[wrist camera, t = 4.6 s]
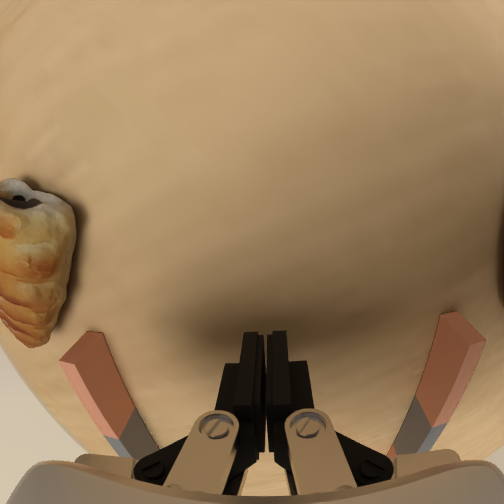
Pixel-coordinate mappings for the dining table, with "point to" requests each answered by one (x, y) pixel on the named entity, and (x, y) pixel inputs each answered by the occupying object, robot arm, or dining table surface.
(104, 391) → the striped u-shaped rail
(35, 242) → the pastry
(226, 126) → the dining table surface
